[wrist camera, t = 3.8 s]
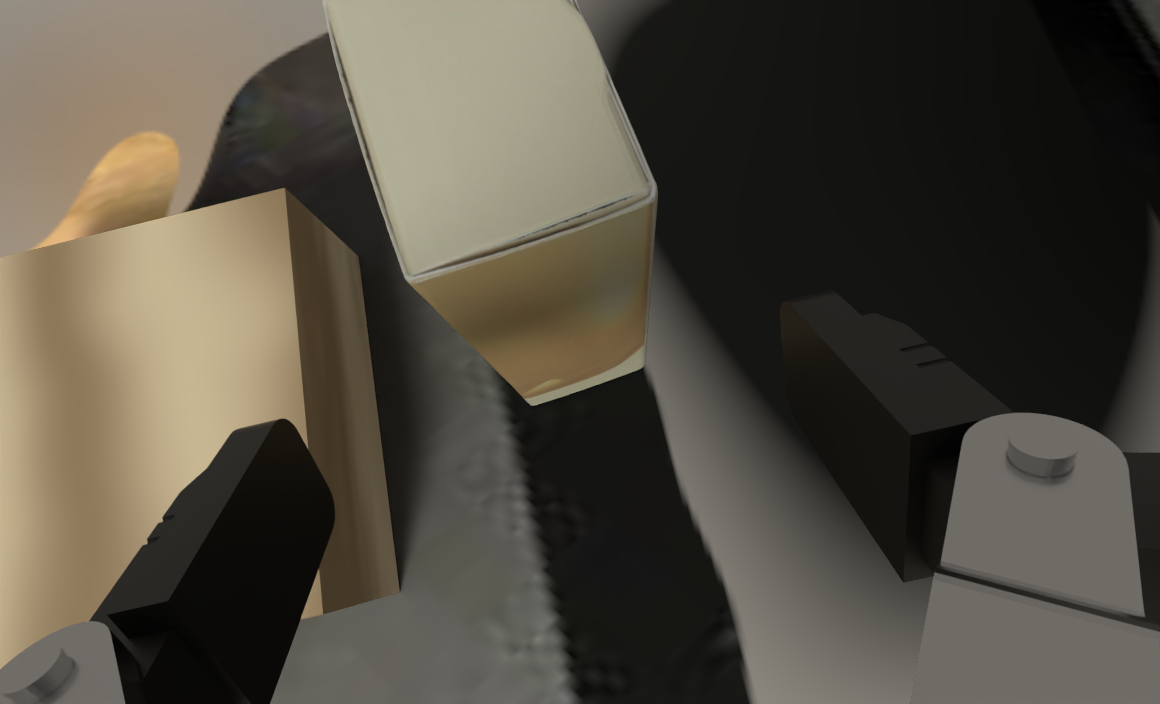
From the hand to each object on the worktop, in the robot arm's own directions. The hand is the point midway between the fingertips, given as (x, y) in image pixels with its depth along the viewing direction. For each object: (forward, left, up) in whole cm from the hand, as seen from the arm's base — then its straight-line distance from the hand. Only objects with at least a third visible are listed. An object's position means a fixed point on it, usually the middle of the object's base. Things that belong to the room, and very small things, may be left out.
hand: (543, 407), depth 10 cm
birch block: (+13, -3, -11) cm, 17 cm away
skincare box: (0, -5, -11) cm, 12 cm away
